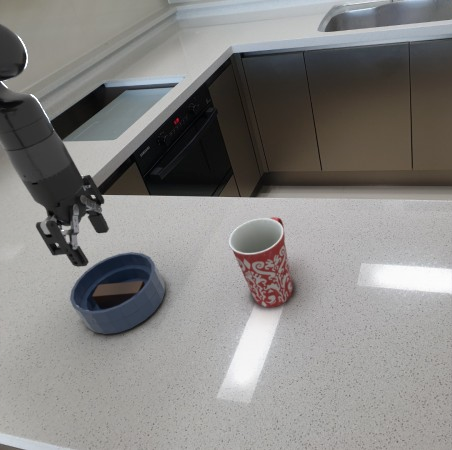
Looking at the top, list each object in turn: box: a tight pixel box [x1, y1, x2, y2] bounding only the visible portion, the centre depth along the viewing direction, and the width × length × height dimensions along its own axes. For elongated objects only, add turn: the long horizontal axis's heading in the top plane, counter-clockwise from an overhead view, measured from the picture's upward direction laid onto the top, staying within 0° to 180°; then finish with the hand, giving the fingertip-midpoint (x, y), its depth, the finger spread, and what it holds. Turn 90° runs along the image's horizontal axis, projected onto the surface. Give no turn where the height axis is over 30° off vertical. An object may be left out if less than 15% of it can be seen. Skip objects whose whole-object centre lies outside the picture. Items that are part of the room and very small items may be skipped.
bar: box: [92, 281, 145, 309], centre depth 85 cm, size 9×3×3 cm, turn 86°
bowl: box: [69, 251, 166, 335], centre depth 85 cm, size 15×15×6 cm
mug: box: [228, 216, 294, 308], centre depth 79 cm, size 13×9×14 cm
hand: (93, 247), depth 78 cm, fingers open, 8 cm apart
